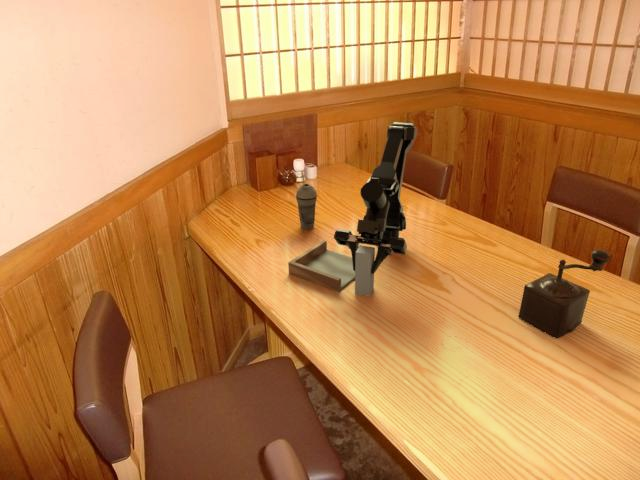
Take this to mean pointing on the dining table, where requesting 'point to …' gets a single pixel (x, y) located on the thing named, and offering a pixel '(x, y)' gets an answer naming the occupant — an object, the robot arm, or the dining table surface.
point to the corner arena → (323, 267)
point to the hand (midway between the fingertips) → (363, 272)
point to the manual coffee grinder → (558, 299)
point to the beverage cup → (306, 205)
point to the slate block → (364, 270)
